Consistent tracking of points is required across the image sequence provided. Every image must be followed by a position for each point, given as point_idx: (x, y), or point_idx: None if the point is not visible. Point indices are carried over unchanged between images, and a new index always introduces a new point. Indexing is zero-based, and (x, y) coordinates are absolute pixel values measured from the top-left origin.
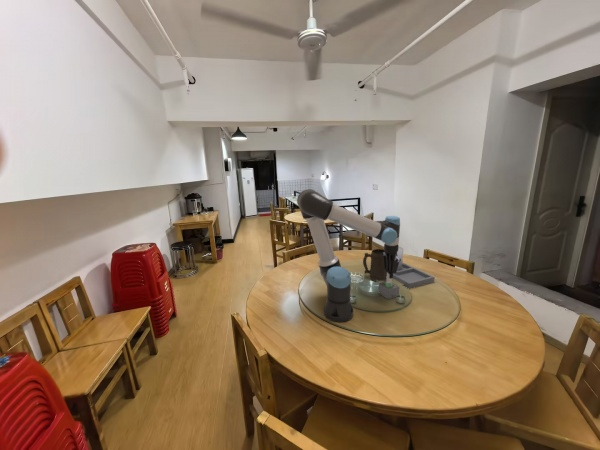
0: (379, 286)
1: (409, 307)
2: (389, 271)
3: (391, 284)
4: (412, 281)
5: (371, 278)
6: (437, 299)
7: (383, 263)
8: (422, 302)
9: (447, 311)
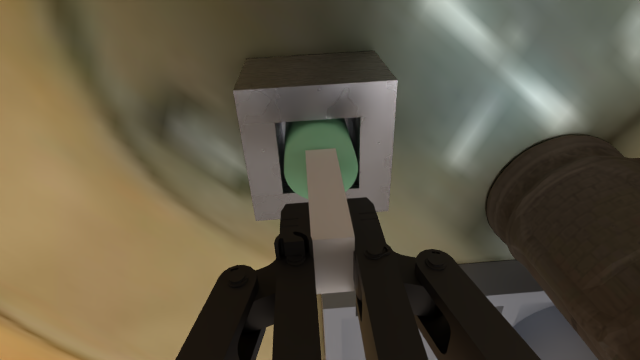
0: (377, 72)
1: (95, 139)
2: (304, 269)
3: (284, 172)
4: (339, 336)
5: (586, 140)
6: (167, 324)
7: (510, 339)
8: (149, 248)
9: (36, 295)
